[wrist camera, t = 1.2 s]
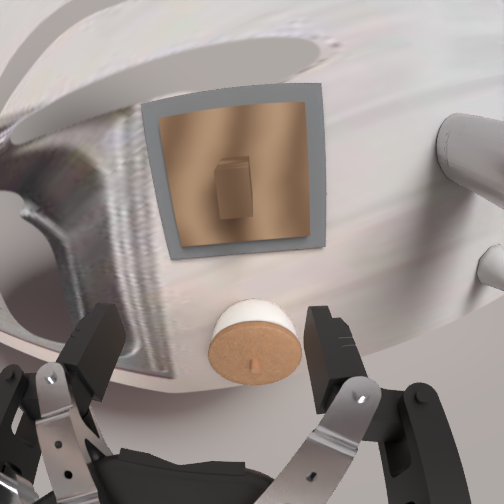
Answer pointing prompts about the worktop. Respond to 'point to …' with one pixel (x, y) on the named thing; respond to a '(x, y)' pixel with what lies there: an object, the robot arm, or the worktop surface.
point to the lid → (238, 173)
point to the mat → (229, 98)
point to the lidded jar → (254, 343)
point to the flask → (492, 267)
